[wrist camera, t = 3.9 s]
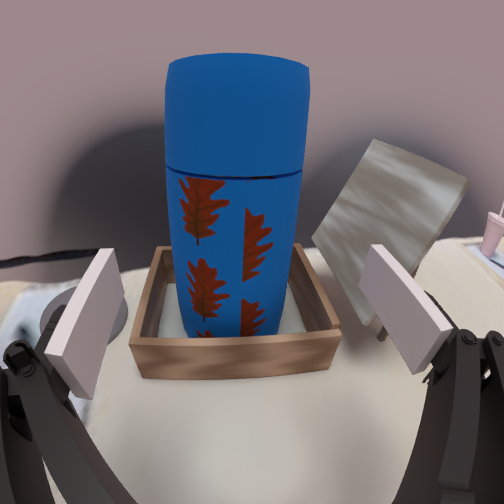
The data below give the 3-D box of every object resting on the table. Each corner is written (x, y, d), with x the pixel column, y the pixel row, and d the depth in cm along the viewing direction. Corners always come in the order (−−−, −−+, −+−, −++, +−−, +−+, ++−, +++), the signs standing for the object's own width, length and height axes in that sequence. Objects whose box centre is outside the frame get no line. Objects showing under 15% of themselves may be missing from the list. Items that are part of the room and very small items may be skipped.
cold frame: (142, 378, 22) (83, 155, 12) (162, 279, 35) (148, 127, 25) (398, 354, 25) (471, 179, 15) (348, 273, 39) (377, 139, 29)
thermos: (218, 279, 36) (221, 74, 23) (294, 309, 32) (326, 77, 19) (162, 329, 28) (136, 67, 15) (249, 375, 23) (274, 47, 11)
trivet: (28, 348, 22) (25, 344, 21) (62, 285, 32) (60, 282, 31) (115, 361, 23) (113, 357, 23) (136, 287, 33) (135, 283, 33)
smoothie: (498, 258, 46) (517, 207, 39) (490, 262, 44) (510, 206, 37) (481, 245, 51) (497, 195, 44) (472, 248, 50) (490, 194, 42)
